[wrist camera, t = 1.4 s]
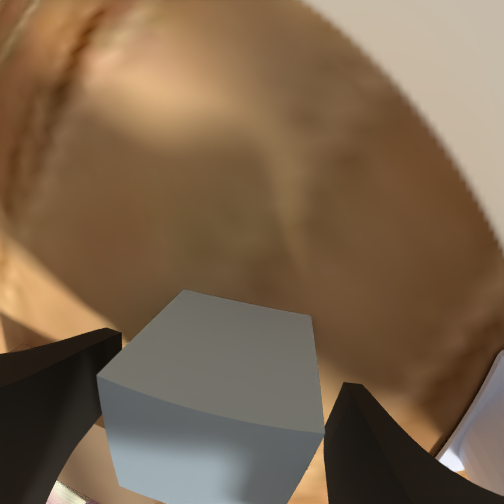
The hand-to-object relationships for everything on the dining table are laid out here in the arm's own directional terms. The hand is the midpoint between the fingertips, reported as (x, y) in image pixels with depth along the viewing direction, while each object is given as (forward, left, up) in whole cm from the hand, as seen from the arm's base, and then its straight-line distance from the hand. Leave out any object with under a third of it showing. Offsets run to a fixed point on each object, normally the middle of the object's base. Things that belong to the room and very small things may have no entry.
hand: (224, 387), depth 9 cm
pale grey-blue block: (0, 0, -2) cm, 2 cm away
